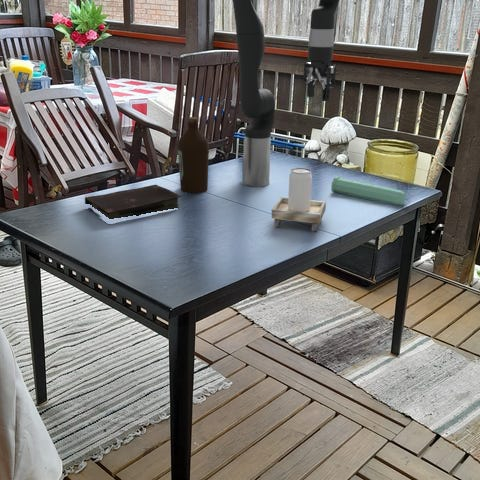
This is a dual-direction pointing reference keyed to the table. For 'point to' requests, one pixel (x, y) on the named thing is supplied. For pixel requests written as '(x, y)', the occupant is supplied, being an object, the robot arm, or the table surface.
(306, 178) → the can
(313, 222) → the shallow wooden tray
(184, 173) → the olive oil
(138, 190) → the diary
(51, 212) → the table surface
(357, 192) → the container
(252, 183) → the robot arm
